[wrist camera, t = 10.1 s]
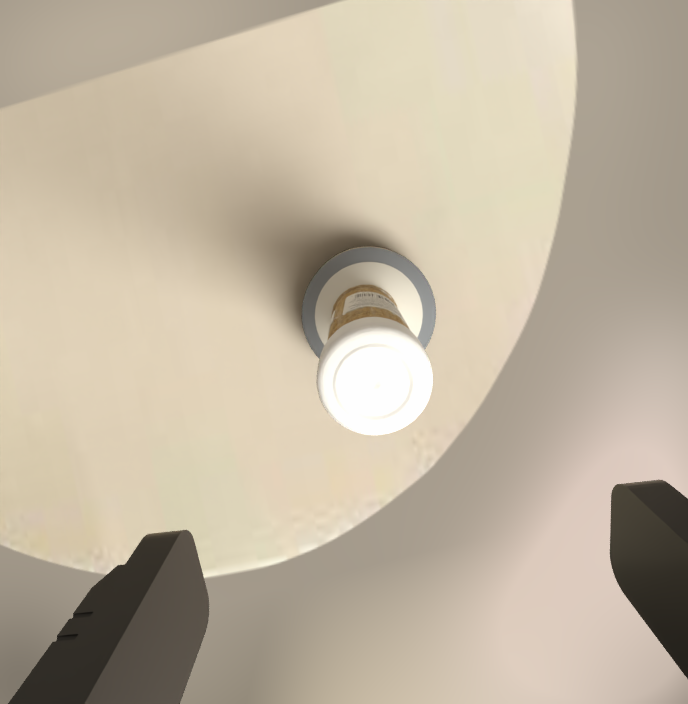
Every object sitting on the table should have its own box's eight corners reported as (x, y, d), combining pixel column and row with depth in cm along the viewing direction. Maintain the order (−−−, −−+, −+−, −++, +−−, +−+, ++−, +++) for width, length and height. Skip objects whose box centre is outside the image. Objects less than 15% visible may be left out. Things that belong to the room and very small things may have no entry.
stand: (315, 375, 34) (312, 387, 32) (296, 255, 32) (291, 257, 29) (434, 361, 34) (441, 372, 31) (424, 237, 31) (430, 238, 29)
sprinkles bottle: (319, 327, 30) (293, 401, 17) (355, 269, 29) (355, 302, 16) (376, 362, 31) (392, 459, 18) (413, 306, 30) (459, 366, 17)
